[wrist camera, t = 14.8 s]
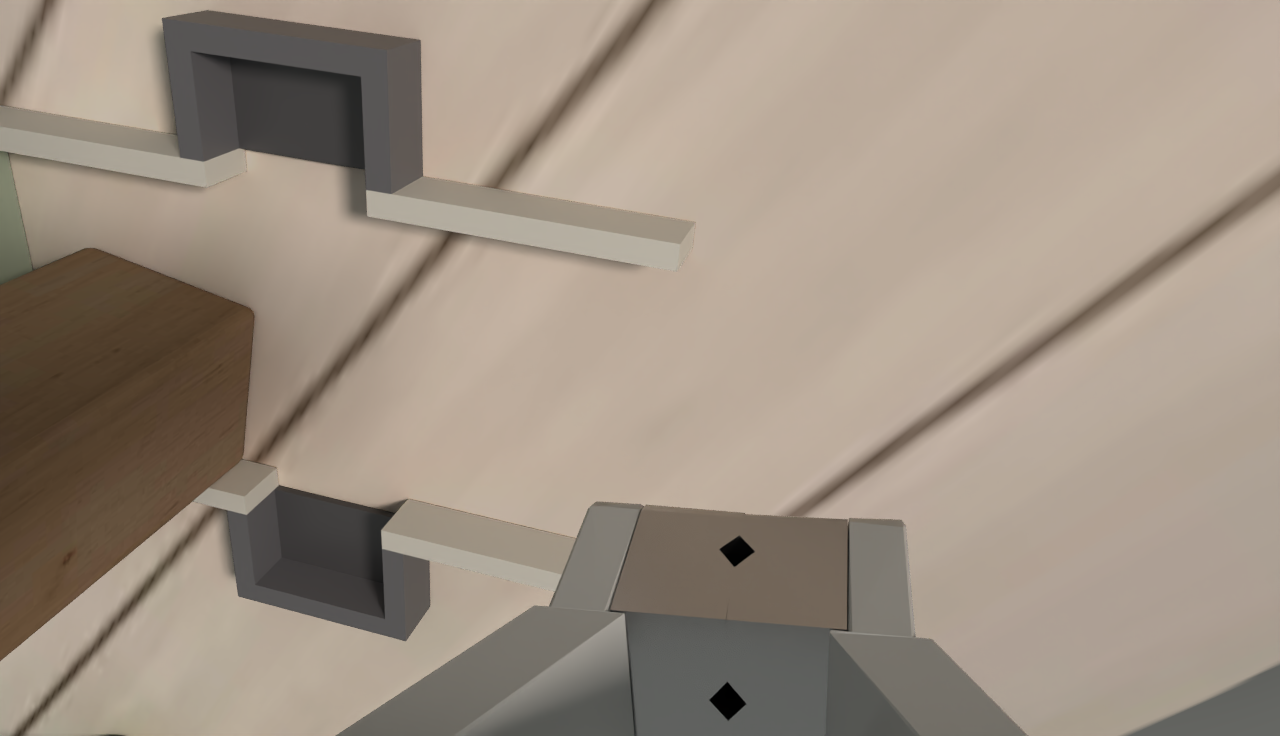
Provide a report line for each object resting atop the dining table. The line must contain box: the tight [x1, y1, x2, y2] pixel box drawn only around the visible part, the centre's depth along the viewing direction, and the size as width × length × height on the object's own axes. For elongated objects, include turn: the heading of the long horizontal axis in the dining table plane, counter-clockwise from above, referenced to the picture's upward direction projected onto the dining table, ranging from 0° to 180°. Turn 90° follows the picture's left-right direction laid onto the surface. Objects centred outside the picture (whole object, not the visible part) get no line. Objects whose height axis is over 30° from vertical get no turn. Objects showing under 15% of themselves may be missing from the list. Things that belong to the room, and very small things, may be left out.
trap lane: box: [0, 105, 696, 592], centre depth 48 cm, size 37×19×5 cm, turn 86°
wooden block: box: [0, 248, 255, 661], centre depth 45 cm, size 10×10×20 cm
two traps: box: [162, 10, 430, 641], centre depth 49 cm, size 10×31×3 cm, turn 176°
